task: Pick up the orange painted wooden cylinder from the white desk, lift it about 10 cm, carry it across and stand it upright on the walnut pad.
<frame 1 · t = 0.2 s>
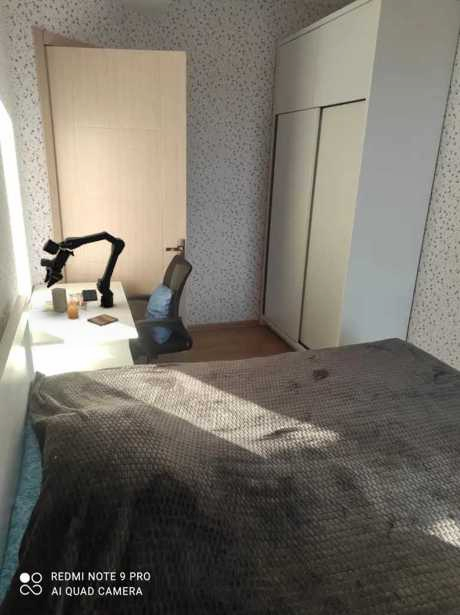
hand: (46, 285, 240), 15 cm above the table, tool tilted 30°, fingers open, 9 cm apart
smart home device: (89, 297, 274), on the table
skincare box: (60, 310, 247), on the table
orange cylinder: (73, 317, 238), on the table
walnut pad: (102, 320, 235), on the table
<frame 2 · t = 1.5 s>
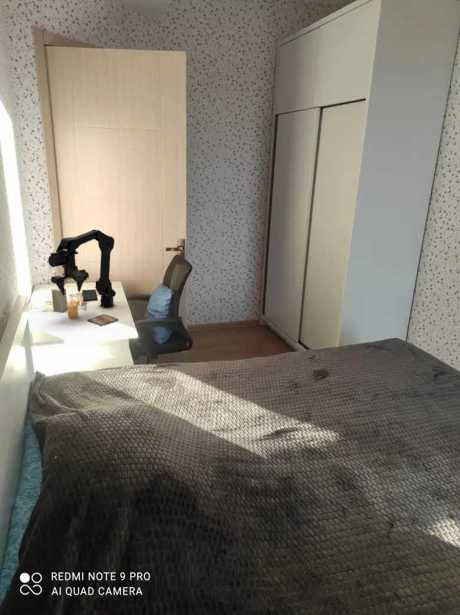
hand: (71, 293, 234), 13 cm above the table, tool pointing down, fingers open, 9 cm apart
nothing on the table moved.
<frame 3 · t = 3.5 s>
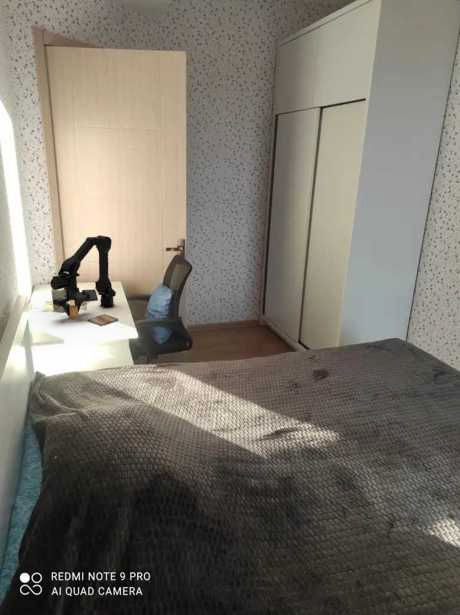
hand: (73, 314, 238), 2 cm above the table, tool pointing down, fingers closed on orange cylinder, 5 cm apart
orange cylinder: (73, 317, 238), on the table, touching gripper
everything else where it was.
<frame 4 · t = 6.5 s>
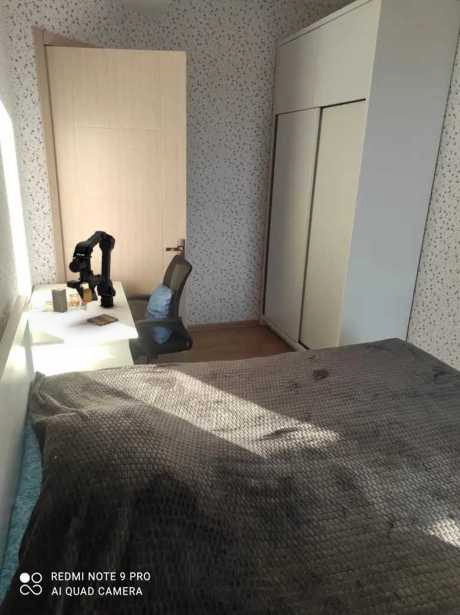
hand: (86, 298, 233), 11 cm above the table, tool pointing down, fingers closed on orange cylinder, 5 cm apart
orange cylinder: (86, 300, 233), point 10 cm above the table, touching gripper
everything else where it was.
when the fingers open (4 cm above the table, at t = 9.7 s): orange cylinder drops 1 cm, resting on walnut pad.
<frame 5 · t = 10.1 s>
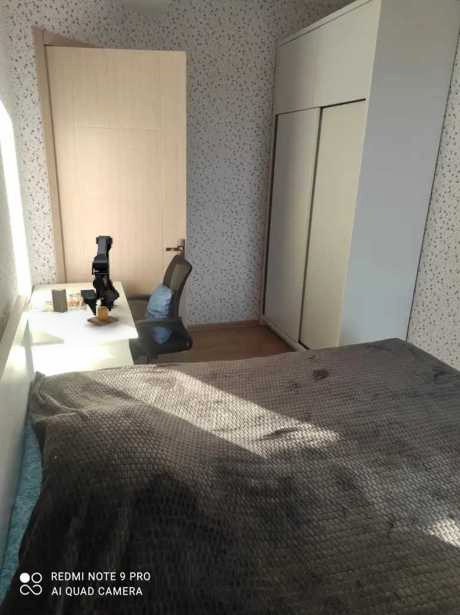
hand: (102, 313, 234), 4 cm above the table, tool pointing down, fingers open, 9 cm apart
orange cylinder: (102, 318, 235), point 1 cm above the table, touching walnut pad
everything else where it was.
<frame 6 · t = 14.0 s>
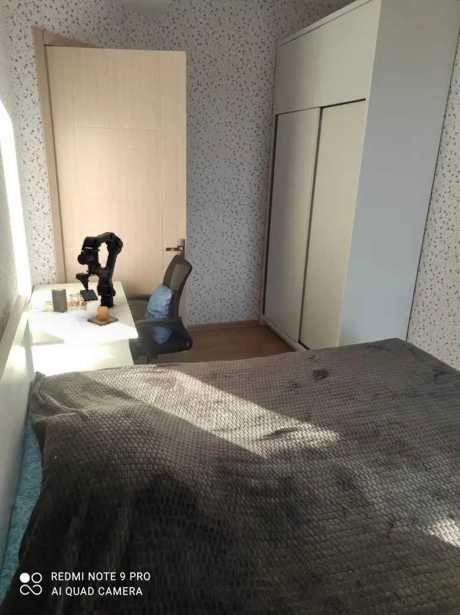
hand: (94, 289, 242), 13 cm above the table, tool pointing down, fingers open, 9 cm apart
nothing on the table moved.
at the end: orange cylinder inside the target area on the walnut pad (0.0 cm from its centre), point 1.0 cm above the walnut pad's base; orange cylinder tilted 0°; the gripper is holding nothing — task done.
